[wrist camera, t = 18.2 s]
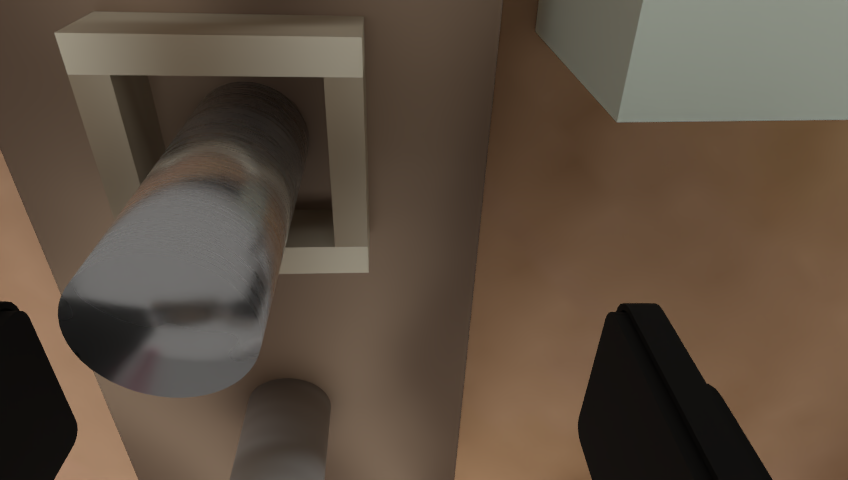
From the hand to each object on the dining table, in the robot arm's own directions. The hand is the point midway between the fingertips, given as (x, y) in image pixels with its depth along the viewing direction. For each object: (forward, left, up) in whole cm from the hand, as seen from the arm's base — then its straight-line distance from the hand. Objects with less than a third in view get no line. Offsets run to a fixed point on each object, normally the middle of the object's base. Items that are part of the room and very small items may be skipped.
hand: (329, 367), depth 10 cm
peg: (+2, -1, -7) cm, 7 cm away
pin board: (+2, +4, -8) cm, 9 cm away
